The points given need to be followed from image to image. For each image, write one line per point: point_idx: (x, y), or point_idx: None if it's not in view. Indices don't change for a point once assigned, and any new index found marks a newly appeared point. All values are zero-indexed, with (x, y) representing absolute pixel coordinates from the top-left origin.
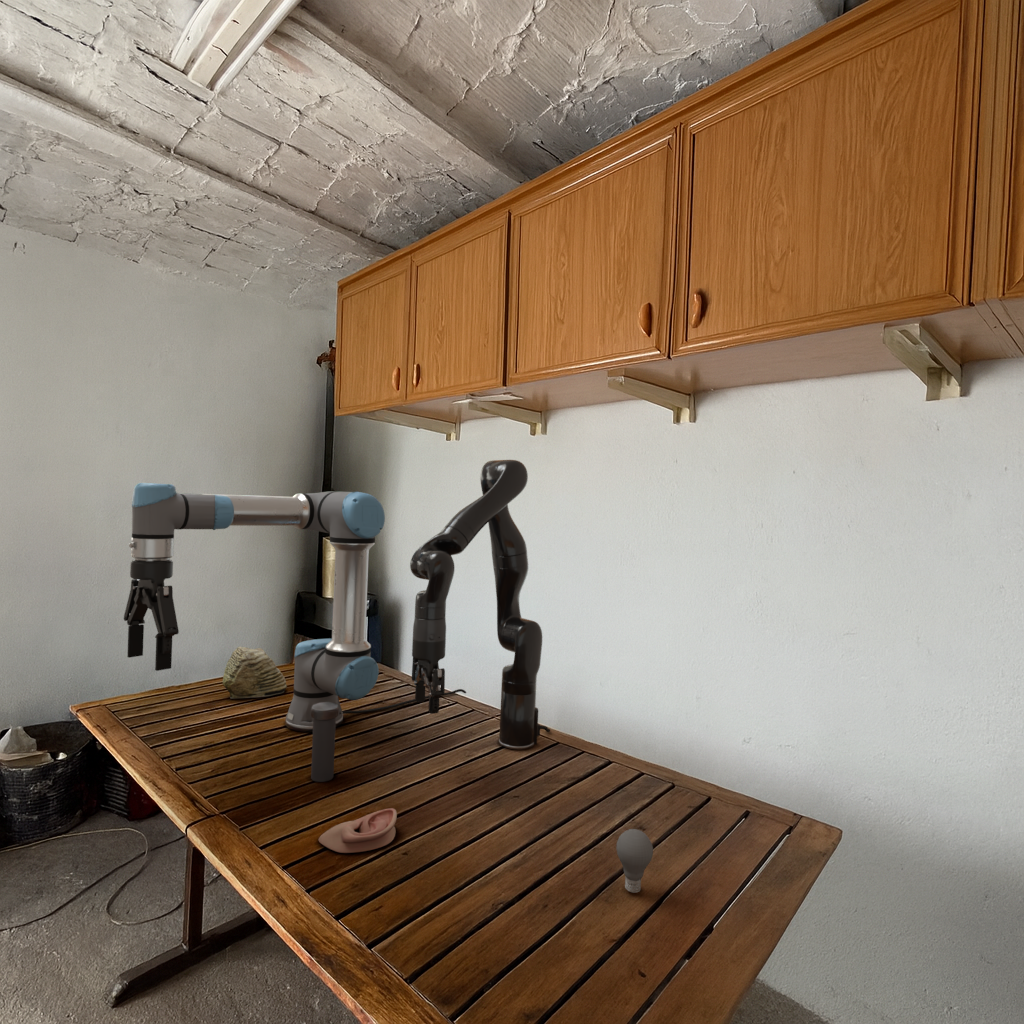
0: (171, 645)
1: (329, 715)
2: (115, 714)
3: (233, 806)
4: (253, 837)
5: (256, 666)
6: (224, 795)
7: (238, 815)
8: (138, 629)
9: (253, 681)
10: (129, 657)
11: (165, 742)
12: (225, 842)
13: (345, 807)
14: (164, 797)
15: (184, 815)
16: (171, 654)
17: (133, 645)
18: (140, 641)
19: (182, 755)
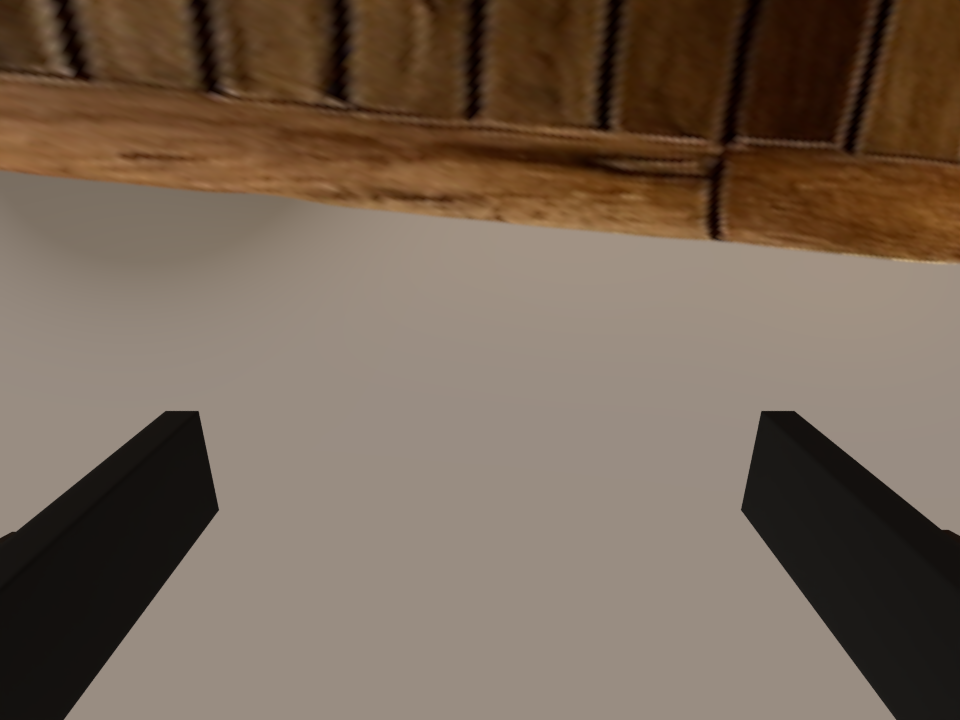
0: (958, 552)
1: None
2: None
3: (720, 94)
4: (913, 147)
5: None
6: (634, 76)
7: (779, 112)
8: (7, 664)
9: None
10: (217, 506)
11: (49, 10)
12: (867, 212)
13: None
14: (512, 214)
15: (656, 221)
16: (880, 482)
17: (155, 551)
18: (120, 516)
19: (223, 22)
